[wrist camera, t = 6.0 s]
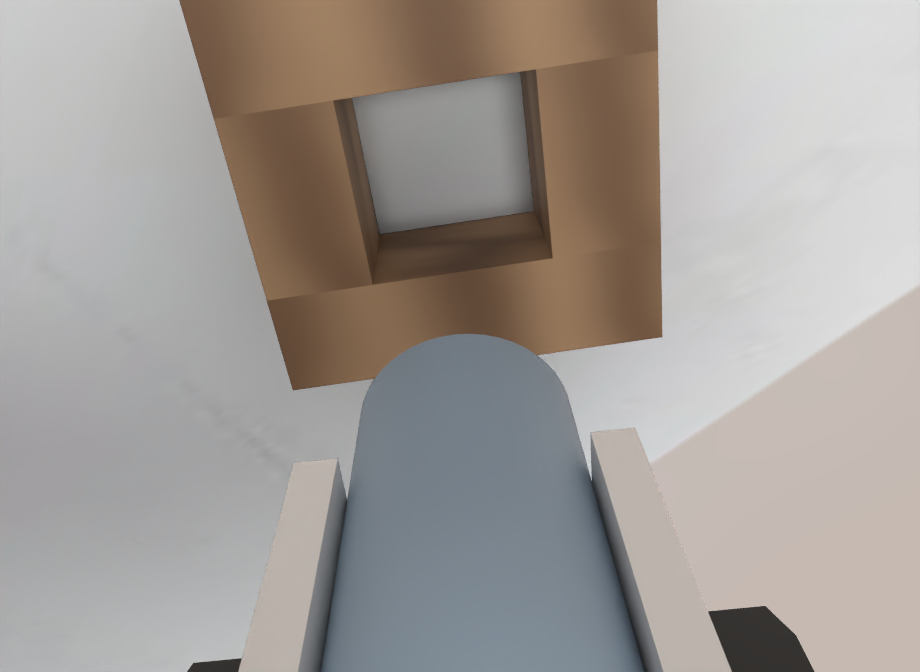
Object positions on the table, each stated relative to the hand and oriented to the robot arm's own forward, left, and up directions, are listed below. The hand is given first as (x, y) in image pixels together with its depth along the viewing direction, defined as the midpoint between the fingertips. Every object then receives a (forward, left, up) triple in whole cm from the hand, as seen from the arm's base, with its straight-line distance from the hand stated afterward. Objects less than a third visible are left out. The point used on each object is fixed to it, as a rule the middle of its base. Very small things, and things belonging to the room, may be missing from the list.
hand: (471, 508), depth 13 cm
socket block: (0, +2, -19) cm, 19 cm away
